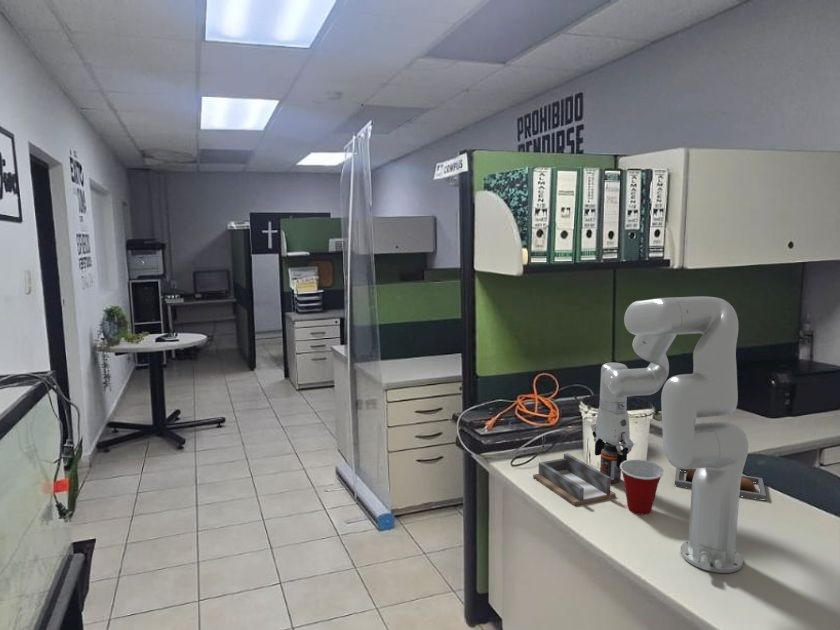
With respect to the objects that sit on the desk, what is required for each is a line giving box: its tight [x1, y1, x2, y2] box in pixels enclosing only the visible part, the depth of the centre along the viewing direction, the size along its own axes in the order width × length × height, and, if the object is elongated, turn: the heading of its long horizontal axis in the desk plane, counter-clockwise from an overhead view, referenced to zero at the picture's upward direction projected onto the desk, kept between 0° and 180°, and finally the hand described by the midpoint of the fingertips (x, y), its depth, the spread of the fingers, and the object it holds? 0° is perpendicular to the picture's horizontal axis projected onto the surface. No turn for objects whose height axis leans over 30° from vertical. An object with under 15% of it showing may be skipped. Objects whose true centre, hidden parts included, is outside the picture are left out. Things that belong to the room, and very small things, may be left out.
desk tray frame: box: [673, 467, 767, 500], centre depth 172 cm, size 13×23×2 cm, turn 64°
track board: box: [532, 452, 617, 507], centre depth 171 cm, size 20×14×6 cm
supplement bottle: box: [599, 441, 622, 484], centre depth 176 cm, size 6×6×11 cm
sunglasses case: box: [685, 469, 756, 493], centre depth 173 cm, size 18×7×7 cm
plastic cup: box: [620, 458, 664, 515], centre depth 156 cm, size 11×11×12 cm
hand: (610, 460), depth 176 cm, fingers open, 9 cm apart
